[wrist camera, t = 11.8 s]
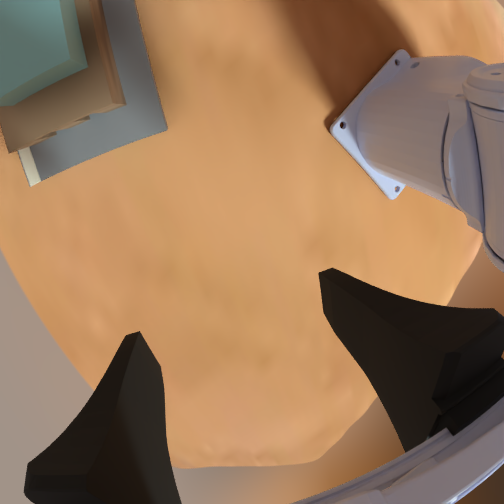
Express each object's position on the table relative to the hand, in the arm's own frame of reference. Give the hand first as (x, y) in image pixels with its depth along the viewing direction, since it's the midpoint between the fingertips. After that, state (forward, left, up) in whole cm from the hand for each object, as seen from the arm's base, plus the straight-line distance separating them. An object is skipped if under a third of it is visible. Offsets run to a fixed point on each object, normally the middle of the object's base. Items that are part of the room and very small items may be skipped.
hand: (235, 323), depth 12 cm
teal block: (-4, -14, -4) cm, 15 cm away
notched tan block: (-4, -14, -8) cm, 17 cm away
